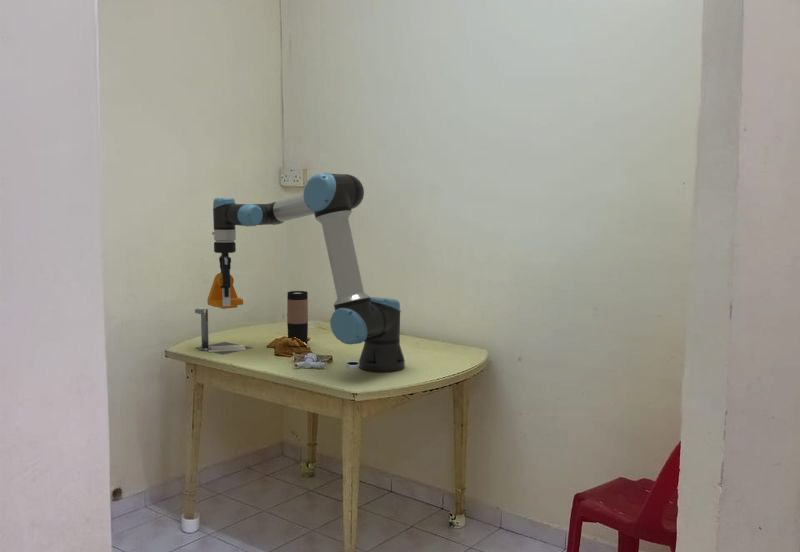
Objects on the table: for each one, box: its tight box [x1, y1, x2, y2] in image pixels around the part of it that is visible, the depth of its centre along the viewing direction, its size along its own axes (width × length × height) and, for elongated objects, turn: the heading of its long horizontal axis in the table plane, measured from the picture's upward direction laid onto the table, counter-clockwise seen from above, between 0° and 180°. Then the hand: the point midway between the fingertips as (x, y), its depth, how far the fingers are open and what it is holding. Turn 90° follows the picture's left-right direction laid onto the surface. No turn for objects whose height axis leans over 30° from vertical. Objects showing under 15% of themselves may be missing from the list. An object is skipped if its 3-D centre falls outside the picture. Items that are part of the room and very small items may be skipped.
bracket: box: [206, 272, 244, 310], centre depth 256 cm, size 11×7×12 cm, turn 128°
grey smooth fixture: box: [194, 308, 212, 352], centre depth 257 cm, size 7×4×15 cm
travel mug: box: [286, 290, 309, 345], centre depth 268 cm, size 8×8×20 cm
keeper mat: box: [194, 341, 254, 355], centre depth 260 cm, size 16×17×1 cm
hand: (225, 303), depth 257 cm, fingers closed on bracket, 9 cm apart
